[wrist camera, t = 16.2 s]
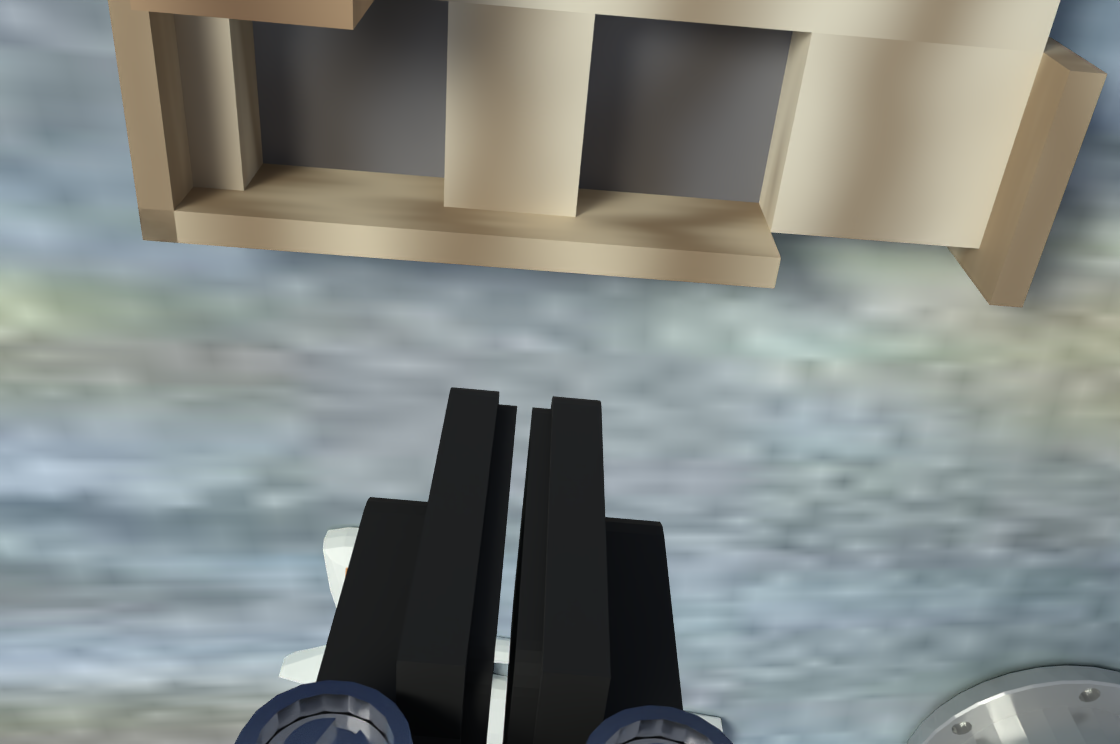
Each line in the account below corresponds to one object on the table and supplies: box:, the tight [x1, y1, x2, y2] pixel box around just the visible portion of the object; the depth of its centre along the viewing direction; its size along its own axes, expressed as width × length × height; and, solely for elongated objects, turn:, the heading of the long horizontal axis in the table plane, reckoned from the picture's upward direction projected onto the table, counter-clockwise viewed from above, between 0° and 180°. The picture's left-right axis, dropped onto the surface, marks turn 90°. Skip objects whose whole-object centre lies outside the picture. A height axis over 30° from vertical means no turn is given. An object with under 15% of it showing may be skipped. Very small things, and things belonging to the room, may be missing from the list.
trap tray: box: [108, 0, 1107, 307], centre depth 28 cm, size 26×14×4 cm, turn 85°
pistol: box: [279, 527, 723, 744], centre depth 44 cm, size 2×20×11 cm
